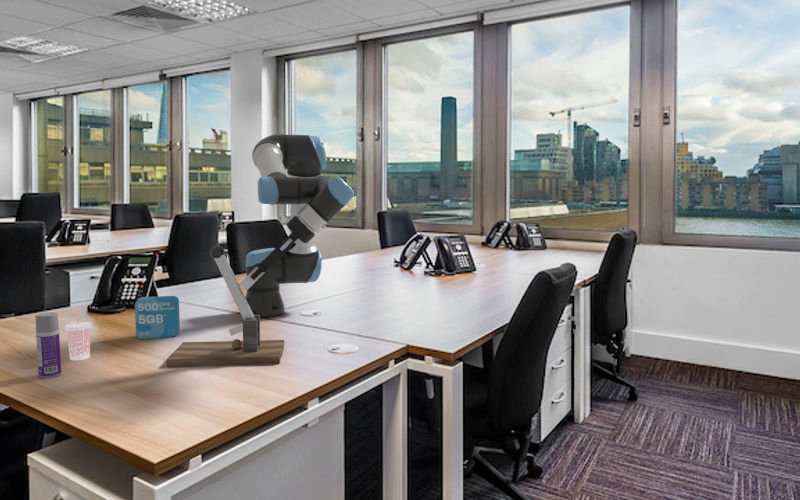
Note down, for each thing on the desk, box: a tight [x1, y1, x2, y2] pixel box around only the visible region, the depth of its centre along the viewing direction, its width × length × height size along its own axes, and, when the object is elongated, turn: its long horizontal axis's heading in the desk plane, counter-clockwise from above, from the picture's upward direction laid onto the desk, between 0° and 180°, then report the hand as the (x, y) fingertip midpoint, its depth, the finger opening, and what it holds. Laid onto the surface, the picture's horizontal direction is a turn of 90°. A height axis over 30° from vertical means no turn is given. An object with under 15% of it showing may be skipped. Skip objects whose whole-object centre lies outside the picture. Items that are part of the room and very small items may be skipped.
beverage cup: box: [64, 305, 92, 361], centre depth 149 cm, size 6×6×14 cm
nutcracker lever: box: [210, 245, 258, 337], centre depth 151 cm, size 4×8×24 cm, turn 97°
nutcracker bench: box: [166, 315, 285, 368], centre depth 152 cm, size 16×28×10 cm, turn 97°
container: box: [35, 311, 62, 379], centre depth 135 cm, size 5×5×15 cm
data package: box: [134, 295, 181, 340], centre depth 172 cm, size 12×4×12 cm, turn 108°
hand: (243, 286), depth 151 cm, fingers closed
